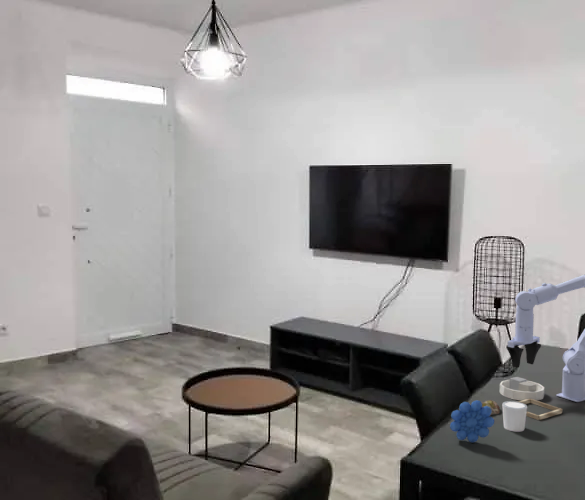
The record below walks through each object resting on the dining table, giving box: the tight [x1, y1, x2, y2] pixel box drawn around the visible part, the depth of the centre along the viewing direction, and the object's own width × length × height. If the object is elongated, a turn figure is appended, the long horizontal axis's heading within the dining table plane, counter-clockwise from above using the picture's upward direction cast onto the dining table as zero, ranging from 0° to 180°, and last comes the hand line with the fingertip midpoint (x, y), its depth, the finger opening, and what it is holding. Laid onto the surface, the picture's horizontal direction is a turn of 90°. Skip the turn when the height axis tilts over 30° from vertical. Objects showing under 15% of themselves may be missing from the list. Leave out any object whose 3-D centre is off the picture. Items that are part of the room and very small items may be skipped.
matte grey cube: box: [509, 376, 528, 391], centre depth 206 cm, size 4×4×4 cm
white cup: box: [501, 400, 528, 433], centre depth 173 cm, size 7×7×7 cm
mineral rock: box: [481, 399, 501, 416], centre depth 187 cm, size 11×4×8 cm
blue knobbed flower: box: [449, 399, 495, 444], centre depth 163 cm, size 12×7×12 cm, turn 70°
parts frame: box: [517, 399, 563, 421], centre depth 187 cm, size 12×12×1 cm
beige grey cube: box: [518, 380, 536, 392], centre depth 200 cm, size 4×4×4 cm
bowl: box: [499, 379, 545, 401], centre depth 203 cm, size 14×14×3 cm
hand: (523, 365), depth 204 cm, fingers open, 7 cm apart
